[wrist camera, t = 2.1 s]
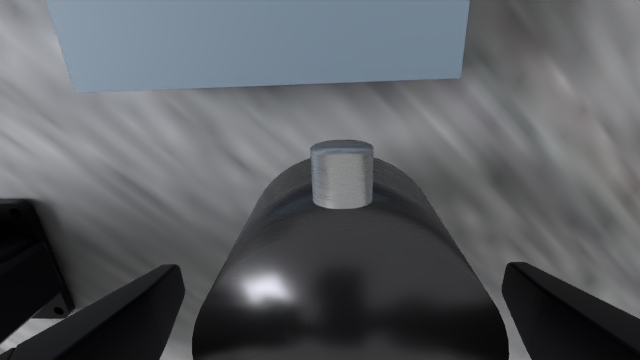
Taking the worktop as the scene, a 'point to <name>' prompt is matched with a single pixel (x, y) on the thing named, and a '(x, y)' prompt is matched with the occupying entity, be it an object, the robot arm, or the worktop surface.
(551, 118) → the worktop surface
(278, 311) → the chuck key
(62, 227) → the worktop surface
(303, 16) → the block
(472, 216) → the worktop surface
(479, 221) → the worktop surface
